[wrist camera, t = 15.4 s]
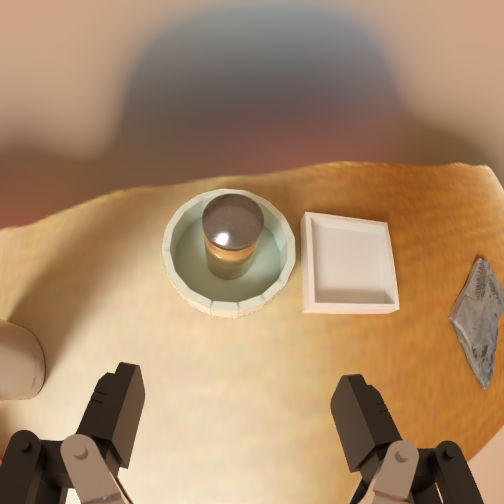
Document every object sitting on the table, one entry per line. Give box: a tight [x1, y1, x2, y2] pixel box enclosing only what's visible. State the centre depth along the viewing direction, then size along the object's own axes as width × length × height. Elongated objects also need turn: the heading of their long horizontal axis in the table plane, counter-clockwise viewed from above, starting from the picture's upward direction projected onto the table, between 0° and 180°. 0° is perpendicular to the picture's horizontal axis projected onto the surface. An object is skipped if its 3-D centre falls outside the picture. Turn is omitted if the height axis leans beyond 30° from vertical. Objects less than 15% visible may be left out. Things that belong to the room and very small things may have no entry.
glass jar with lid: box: [202, 193, 264, 280], centre depth 27 cm, size 5×5×8 cm
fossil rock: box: [449, 258, 504, 389], centre depth 31 cm, size 18×15×2 cm
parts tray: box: [300, 212, 399, 314], centre depth 31 cm, size 11×11×2 cm
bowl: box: [161, 188, 295, 318], centre depth 30 cm, size 13×13×4 cm
